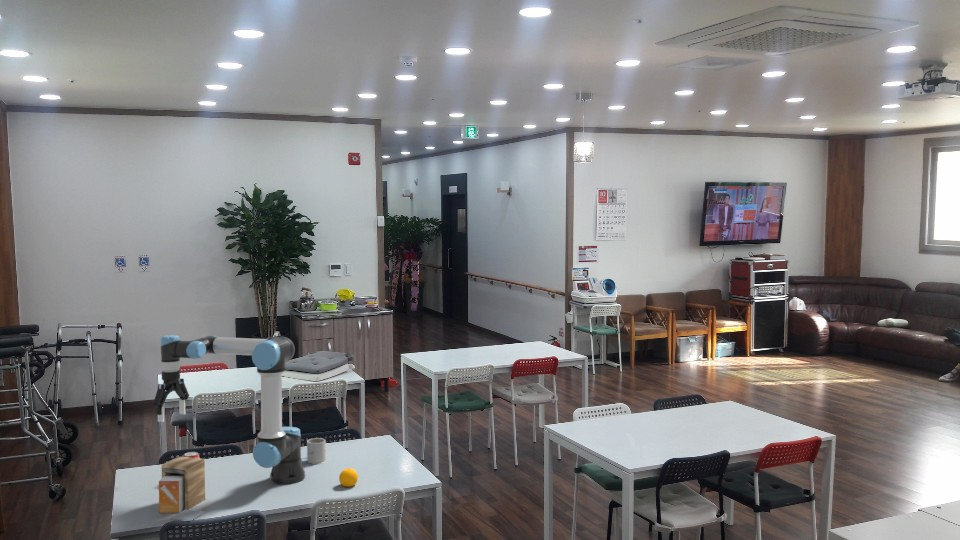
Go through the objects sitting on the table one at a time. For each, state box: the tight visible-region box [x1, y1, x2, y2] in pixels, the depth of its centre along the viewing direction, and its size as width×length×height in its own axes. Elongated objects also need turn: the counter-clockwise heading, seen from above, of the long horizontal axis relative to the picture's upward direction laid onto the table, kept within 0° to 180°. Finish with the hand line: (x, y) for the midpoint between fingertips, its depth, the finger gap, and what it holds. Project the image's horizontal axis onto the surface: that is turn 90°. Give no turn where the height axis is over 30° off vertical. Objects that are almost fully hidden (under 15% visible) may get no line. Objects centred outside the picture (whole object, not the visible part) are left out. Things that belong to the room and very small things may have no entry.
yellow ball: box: [338, 467, 359, 488], centre depth 325 cm, size 8×8×8 cm
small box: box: [158, 476, 185, 514], centre depth 296 cm, size 8×6×13 cm
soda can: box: [183, 451, 201, 459], centre depth 331 cm, size 7×7×12 cm
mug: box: [306, 437, 327, 464], centre depth 359 cm, size 12×9×10 cm
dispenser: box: [161, 456, 206, 510], centre depth 303 cm, size 12×11×17 cm
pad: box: [169, 508, 206, 521], centre depth 290 cm, size 9×9×1 cm
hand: (171, 417), depth 330 cm, fingers open, 13 cm apart
